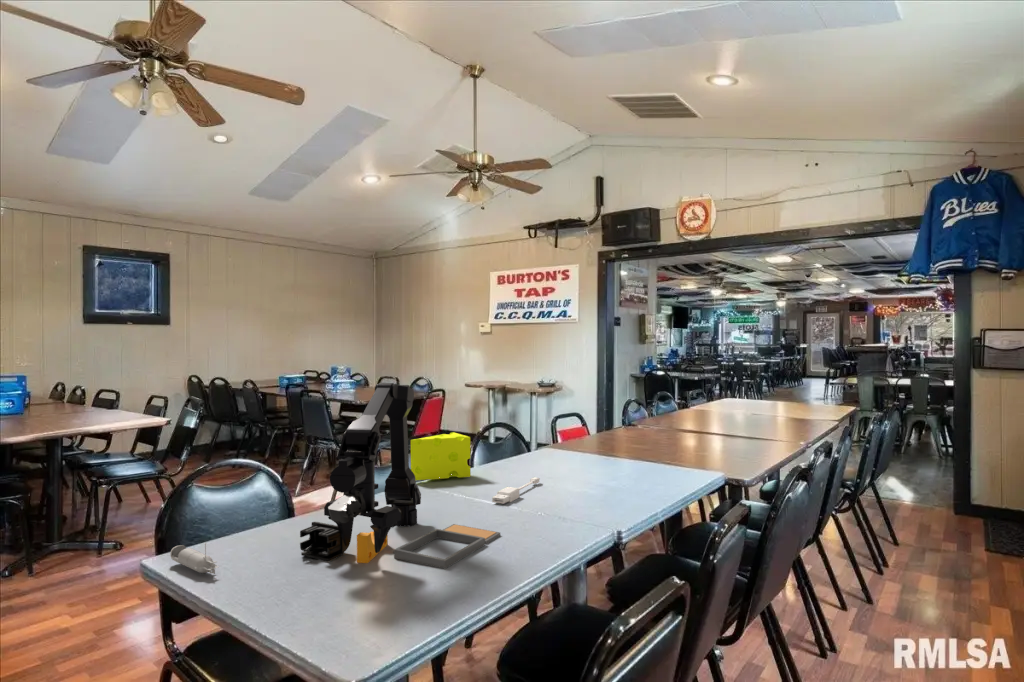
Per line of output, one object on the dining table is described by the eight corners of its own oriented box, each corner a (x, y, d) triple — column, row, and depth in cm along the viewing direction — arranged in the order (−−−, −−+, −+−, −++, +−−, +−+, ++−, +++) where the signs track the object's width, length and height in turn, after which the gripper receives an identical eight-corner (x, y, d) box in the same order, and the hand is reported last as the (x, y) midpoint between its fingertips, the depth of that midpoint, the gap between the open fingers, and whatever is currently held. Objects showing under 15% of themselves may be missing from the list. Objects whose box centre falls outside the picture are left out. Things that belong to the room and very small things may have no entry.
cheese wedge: (464, 482, 205) (463, 441, 205) (410, 480, 209) (410, 440, 209) (476, 470, 224) (476, 432, 224) (427, 468, 228) (427, 431, 228)
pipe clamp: (371, 544, 144) (371, 518, 144) (387, 545, 143) (387, 519, 143) (349, 562, 132) (349, 534, 132) (367, 563, 131) (367, 535, 131)
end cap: (351, 552, 139) (351, 524, 139) (330, 562, 132) (329, 532, 132) (321, 545, 143) (320, 518, 143) (298, 555, 137) (298, 526, 137)
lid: (438, 535, 150) (438, 531, 150) (453, 527, 156) (453, 523, 156) (486, 545, 143) (486, 540, 143) (500, 536, 149) (500, 531, 149)
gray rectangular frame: (394, 558, 134) (394, 549, 134) (436, 536, 149) (436, 528, 149) (445, 569, 127) (445, 560, 127) (484, 545, 142) (484, 537, 142)
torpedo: (164, 562, 133) (164, 534, 133) (185, 556, 137) (185, 528, 137) (203, 581, 123) (203, 550, 123) (225, 573, 126) (225, 543, 126)
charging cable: (544, 483, 204) (544, 475, 204) (504, 506, 177) (504, 496, 177) (532, 482, 206) (531, 473, 206) (491, 504, 179) (491, 494, 179)
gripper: (305, 484, 129) (305, 553, 129) (368, 494, 120) (368, 569, 120) (341, 473, 139) (342, 538, 139) (402, 482, 130) (402, 551, 130)
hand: (362, 548), depth 132 cm, fingers open, 9 cm apart
